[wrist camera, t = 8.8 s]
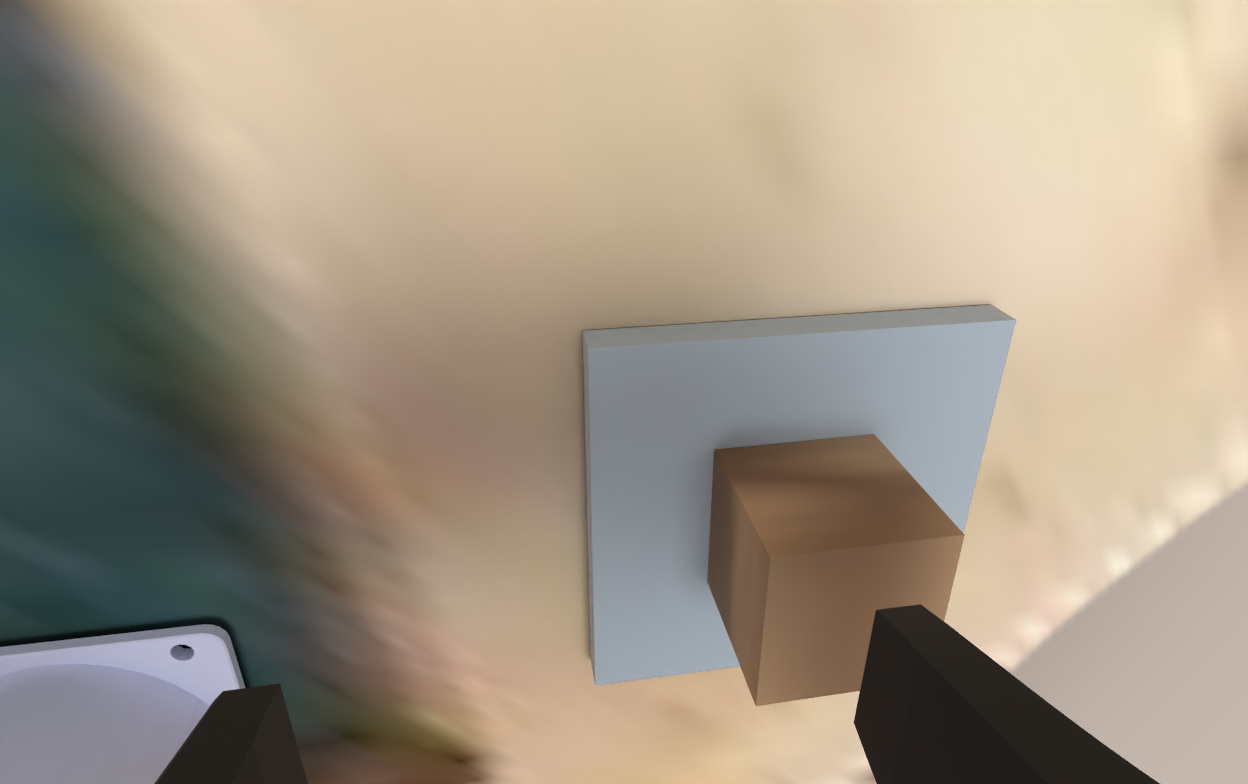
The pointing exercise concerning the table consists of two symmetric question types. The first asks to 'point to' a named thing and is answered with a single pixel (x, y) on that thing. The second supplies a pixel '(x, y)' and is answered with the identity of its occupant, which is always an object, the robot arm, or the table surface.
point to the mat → (756, 415)
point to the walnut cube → (820, 558)
